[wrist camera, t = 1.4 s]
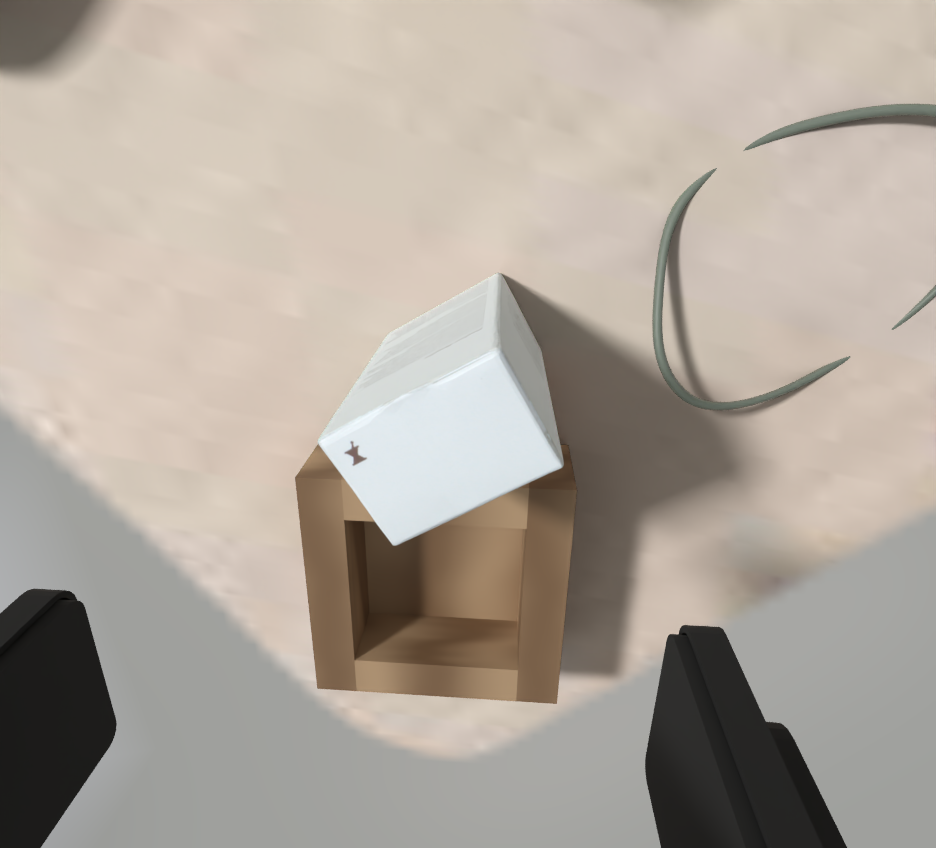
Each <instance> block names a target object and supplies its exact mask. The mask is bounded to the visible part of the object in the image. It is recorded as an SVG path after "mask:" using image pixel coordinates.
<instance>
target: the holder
mask: <svg viewBox="0 0 936 848" xmlns="http://www.w3.org/2000/svg"><path fill="white" fill-rule="evenodd" d="M561 450H562V455H563V460H564V466H563V467H562V468H561V469H559V470H556V471H554V472H551V473H549V474H547V475H545V476H543V477H541V478H538V479H536V480H534V481H532V482H530V483H528V484H526V485H523V486H521V487H519V488H517V489H515V490H513V491H511V492H509V493H507V494H504V495H502V496H500V497H498V498H496V499H494V500H492V501H490V502H488V503H486V504H484V505H482V506H480V507H477V508H475V509H473V510H471V511H469V512H467V513H465V514H463V515H461V516H459V517H457V518H455V519H452V520H450V521H448V522H446V523H444V524H442V525H440V526H438V527H435V528H433V529H431V530H429V531H427V532H425V533H423V534H420V535H418V536H416V537H414V538H412V539H410V540H407V541H405V542H403V543H401V544H399V545H396V546H394V545H392V544H391V542H390V541H389V540H388V538H387V537H386V536H385V534H384V533H383V532H382V530H381V529H380V528H379V526H378V525H377V524H376V522H375V521H374V519H373V518H372V517H371V515H370V514H369V512H368V511H367V509H366V508H365V507H364V505H363V504H362V503H361V501H360V500H359V498H358V497H357V495H356V494H355V493H354V491H353V490H352V488H351V487H350V486H349V484H348V483H347V482H346V480H345V479H344V478H343V476H342V475H341V474H340V472H339V471H338V470H337V468H336V467H335V466H334V464H333V463H332V462H331V460H330V459H329V458H328V456H327V455H326V454H325V452H324V451H323V450H322V448H321V447H320V446H319V444H318V445H317V447H316V448H315V450H314V451H313V452H312V454H311V455H310V457H309V458H308V460H307V461H306V463H305V464H304V466H303V467H302V469H301V470H300V472H299V473H298V474H297V476H296V477H295V481H296V490H297V499H298V509H299V518H300V528H301V537H302V547H303V556H304V566H305V575H306V584H307V594H308V603H309V613H310V622H311V632H312V641H313V650H314V660H315V669H316V679H317V688H318V689H333V690H349V691H365V692H380V693H396V694H412V695H428V696H443V697H459V698H475V699H490V700H506V701H522V702H538V703H553V704H557V695H558V685H559V674H560V664H561V653H562V643H563V632H564V622H565V611H566V601H567V590H568V580H569V569H570V559H571V548H572V538H573V527H574V517H575V506H576V496H577V488H576V483H575V478H574V473H573V467H572V462H571V457H570V452H569V447H568V445H561Z"/></svg>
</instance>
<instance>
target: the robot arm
mask: <svg viewBox="0 0 936 848" xmlns="http://www.w3.org/2000/svg"><path fill="white" fill-rule="evenodd" d="M115 732H116V718H115V715H114V711H113V708H112V704H111V700H110V697H109V693H108V690H107V686H106V682H105V679H104V675H103V671H102V668H101V665H100V660H99V657H98V653H97V650H96V646H95V642H94V639H93V635H92V632H91V628H90V624H89V621H88V617H87V613H86V610H85V607H84V605H83V603H82V602H80V601H77V599H76V597H75V595H74V594H73V593H72V592H70V591H65V590H64V591H62V590H46V589H31V590H28V591H26V592H25V593H23V594H22V595H21V596H19V597H18V598H17V599H16V600H15V601H14V602H13V603H12V604H10V605H9V606H8V607H7V608H6V609H5V610H4V611H3V612H2V613H0V848H41V846H42V845H43V843H44V842H45V840H46V839H47V837H48V836H49V834H50V833H51V831H52V830H53V829H54V827H55V826H56V824H57V823H58V821H59V820H60V818H61V817H62V815H63V814H64V812H65V811H66V810H67V808H68V806H69V805H70V804H71V802H72V801H73V799H74V798H75V796H76V795H77V793H78V792H79V791H80V789H81V788H82V786H83V785H84V783H85V782H86V780H87V779H88V777H89V776H90V774H91V773H92V772H93V770H94V769H95V767H96V766H97V764H98V763H99V761H100V760H101V758H102V757H103V755H104V754H105V753H106V751H107V750H108V748H109V747H110V745H111V743H112V741H113V738H114V736H115ZM645 769H646V779H647V785H648V790H649V794H650V799H651V803H652V808H653V812H654V817H655V821H656V825H657V830H658V834H659V840H660V844H661V848H847V847H846V845H845V843H844V841H843V838H842V836H841V835H840V833H839V830H838V828H837V826H836V824H835V822H834V820H833V818H832V816H831V814H830V812H829V810H828V808H827V806H826V804H825V802H824V800H823V798H822V796H821V794H820V792H819V789H818V787H817V785H816V783H815V781H814V779H813V777H812V775H811V773H810V771H809V769H808V767H807V765H806V763H805V761H804V759H803V757H802V755H801V753H800V751H799V749H798V747H797V745H796V742H795V740H794V739H793V737H792V735H791V734H790V732H789V731H788V729H787V728H786V727H785V726H784V725H782V724H780V723H773V722H766V721H765V719H764V717H763V715H762V713H761V710H760V709H759V706H758V704H757V702H756V699H755V697H754V695H753V693H752V691H751V688H750V686H749V684H748V682H747V680H746V678H745V675H744V673H743V671H742V669H741V667H740V664H739V662H738V660H737V658H736V655H735V653H734V651H733V649H732V647H731V645H730V642H729V640H728V638H727V636H726V634H725V632H724V630H723V629H722V628H720V627H708V626H690V625H683V626H682V627H681V628H680V631H679V635H676V634H670V635H669V636H668V638H667V642H666V647H665V653H664V658H663V664H662V669H661V675H660V681H659V686H658V692H657V697H656V702H655V708H654V714H653V719H652V725H651V730H650V736H649V741H648V747H647V752H646V760H645Z"/></svg>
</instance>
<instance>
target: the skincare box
mask: <svg viewBox="0 0 936 848" xmlns="http://www.w3.org/2000/svg"><path fill="white" fill-rule="evenodd" d="M318 444H319V446H320V447H321V448H322V450H323V451H324V452H325V454H326V455H327V456H328V458H329V459H330V460H331V462H332V463H333V464H334V466H335V467H336V468H337V470H338V471H339V472H340V474H341V475H342V476H343V478H344V479H345V480H346V482H347V483H348V484H349V486H350V487H351V488H352V490H353V491H354V493H355V494H356V495H357V497H358V498H359V500H360V501H361V503H362V504H363V505H364V507H365V508H366V509H367V511H368V512H369V514H370V515H371V517H372V518H373V519H374V521H375V522H376V524H377V525H378V526H379V528H380V529H381V530H382V532H383V533H384V534H385V536H386V537H387V538H388V540H389V541H390V542H391V544H392V545H394V546H396V545H399V544H401V543H403V542H405V541H407V540H410V539H412V538H414V537H416V536H418V535H420V534H423V533H425V532H427V531H429V530H431V529H433V528H435V527H438V526H440V525H442V524H444V523H446V522H448V521H450V520H452V519H455V518H457V517H459V516H461V515H463V514H465V513H467V512H469V511H471V510H473V509H475V508H477V507H480V506H482V505H484V504H486V503H488V502H490V501H492V500H494V499H496V498H498V497H500V496H502V495H504V494H507V493H509V492H511V491H513V490H515V489H517V488H519V487H521V486H523V485H526V484H528V483H530V482H532V481H534V480H536V479H538V478H541V477H543V476H545V475H547V474H549V473H551V472H554V471H556V470H559V469H561V468H562V467H563V466H564V460H563V455H562V450H561V445H560V441H559V436H558V431H557V426H556V421H555V416H554V411H553V407H552V402H551V397H550V391H549V386H548V381H547V376H546V371H545V367H544V361H543V356H542V351H541V348H540V347H539V345H538V343H537V341H536V339H535V337H534V335H533V333H532V331H531V329H530V327H529V325H528V324H527V322H526V320H525V318H524V316H523V314H522V312H521V310H520V308H519V306H518V304H517V302H516V300H515V298H514V296H513V294H512V292H511V290H510V288H509V287H508V285H507V283H506V281H505V279H504V277H503V276H502V274H501V273H496V274H494V275H492V276H491V277H489V278H487V279H485V280H483V281H482V282H480V283H478V284H476V285H474V286H473V287H471V288H469V289H467V290H465V291H464V292H462V293H460V294H458V295H457V296H455V297H453V298H451V299H449V300H447V301H446V302H444V303H442V304H440V305H438V306H437V307H435V308H433V309H431V310H429V311H428V312H426V313H424V314H422V315H421V316H419V317H417V318H415V319H413V320H412V321H410V322H408V323H406V324H405V325H403V326H401V327H399V328H397V329H396V330H394V331H392V332H390V333H388V335H387V336H386V338H385V339H384V341H383V342H382V344H381V345H380V347H379V348H378V349H377V351H376V352H375V354H374V356H373V357H372V359H371V360H370V362H369V363H368V365H367V366H366V368H365V369H364V371H363V373H362V374H361V375H360V377H359V378H358V380H357V381H356V383H355V384H354V386H353V387H352V389H351V390H350V392H349V393H348V395H347V396H346V398H345V400H344V401H343V403H342V404H341V405H340V407H339V408H338V410H337V411H336V413H335V414H334V416H333V417H332V418H331V420H330V422H329V423H328V425H327V426H326V428H325V430H324V431H323V433H322V434H321V436H320V437H319V439H318Z"/></svg>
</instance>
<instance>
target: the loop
mask: <svg viewBox="0 0 936 848" xmlns="http://www.w3.org/2000/svg"><path fill="white" fill-rule="evenodd" d="M898 115H917V116H931V117H936V105H931V104H894V105H882V106H873V107H866V108H859V109H854V110H848V111H843V112H838V113H833V114H829V115H824V116H820V117H816V118H812V119H808V120H804V121H801V122H797V123H794V124H791V125H788V126H786V127H783V128H780V129H778V130H776V131H774V132H771V133H769V134H767V135H765V136H764V137H762V138H760V139H758V140H757V141H755V142H753V143H752V144H750V145H749V146H748V147H746V148H745V149H744V151H745V150H749V149H752V148H755V147H757V146H760V145H763V144H766V143H769V142H772V141H775V140H778V139H781V138H784V137H787V136H791V135H794V134H798V133H801V132H805V131H808V130H812V129H816V128H820V127H824V126H829V125H833V124H838V123H843V122H848V121H854V120H860V119H867V118H874V117H883V116H898ZM716 169H717V168H715V169H713V170H711V171H710V172H708V173H706V174H705V175H703V176H702V177H701V178H699V179H698V180H697V181H695V182H694V183H693V184H692V185H691V186H690V187H689V188H688V189H687V190H686V191H685V192H684V193H683V194H682V195H681V196H680V197H679V199H678V200H677V201H676V203H675V204H674V206H673V208H672V210H671V212H670V214H669V216H668V219H667V221H666V224H665V227H664V230H663V234H662V238H661V242H660V248H659V253H658V260H657V267H656V276H655V287H654V300H653V342H654V349H655V355H656V359H657V363H658V365H659V368H660V371H661V373H662V375H663V377H664V379H665V381H666V382H667V384H668V385H669V387H670V388H671V389H672V390H673V392H674V393H675V394H676V395H677V396H678V397H680V398H681V399H682V400H684V401H685V402H687V403H689V404H690V405H693V406H695V407H698V408H702V409H708V410H731V409H738V408H743V407H748V406H752V405H755V404H759V403H762V402H765V401H768V400H771V399H774V398H776V397H779V396H781V395H784V394H786V393H788V392H791V391H793V390H795V389H797V388H799V387H801V386H803V385H805V384H807V383H809V382H811V381H813V380H815V379H817V378H819V377H821V376H822V375H824V374H826V373H828V372H830V371H831V370H833V369H835V368H836V367H838V366H840V365H841V364H843V363H844V362H845V361H847V360H848V359H849V358H850V356H849V357H846V358H843V359H840V360H838V361H835V362H833V363H830V364H828V365H826V366H824V367H821V368H819V369H817V370H815V371H814V372H812V373H810V374H808V375H806V376H804V377H802V378H801V379H799V380H797V381H795V382H792V383H790V384H788V385H786V386H784V387H781V388H779V389H777V390H774V391H772V392H769V393H766V394H763V395H760V396H757V397H753V398H750V399H745V400H740V401H734V402H711V401H706V400H702V399H700V398H697V397H695V396H693V395H692V394H690V393H689V392H688V391H686V390H685V389H684V388H683V387H682V386H681V385H680V383H679V382H678V381H677V380H676V378H675V376H674V375H673V373H672V371H671V369H670V367H669V364H668V361H667V358H666V355H665V350H664V344H663V334H662V308H663V292H664V280H665V270H666V262H667V256H668V250H669V245H670V241H671V238H672V234H673V231H674V228H675V226H676V223H677V221H678V219H679V217H680V215H681V213H682V211H683V210H684V208H685V206H686V205H687V203H688V202H689V201H690V199H691V198H692V197H693V195H694V194H695V193H696V192H697V191H698V190H699V188H700V187H701V186H702V185H703V184H704V183H705V181H706V180H707V179H708V178H709V177H710V176H711V175H712V174H713V173H714V172H715V170H716ZM935 296H936V286H935V287H934V288H933V289H932V290H931V291H930V292H929V293H928V294H927V295H926V296H925V297H924V298H923V299H922V300H921V301H920V302H919V303H918V304H917V305H916V306H915V307H914V308H913V309H912V310H911V311H910V312H909V313H908V314H907V315H906V316H905V317H904V318H902V319H901V320H900V321H899V322H898V323H897V324H896V325H895V326H894V327H893V328H892V330H893V329H895V328H897V327H898V326H900V325H901V324H903V323H904V322H905V321H907V320H908V319H909V318H911V317H912V316H913V315H914V314H916V313H917V312H918V311H919V310H920V309H921V308H923V307H924V306H925V305H926V304H927V303H928V302H929V301H930V300H932V299H933V298H934V297H935Z"/></svg>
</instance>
